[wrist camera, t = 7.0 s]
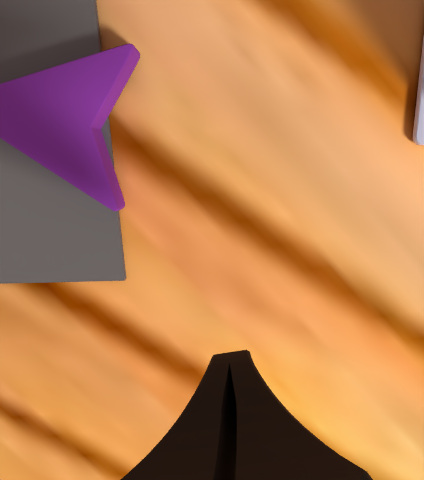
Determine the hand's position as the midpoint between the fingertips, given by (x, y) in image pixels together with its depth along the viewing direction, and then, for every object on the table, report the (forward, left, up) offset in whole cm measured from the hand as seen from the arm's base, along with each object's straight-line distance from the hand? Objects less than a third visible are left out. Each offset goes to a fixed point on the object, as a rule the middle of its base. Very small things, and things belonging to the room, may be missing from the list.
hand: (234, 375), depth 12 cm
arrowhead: (+5, -9, -9) cm, 14 cm away
